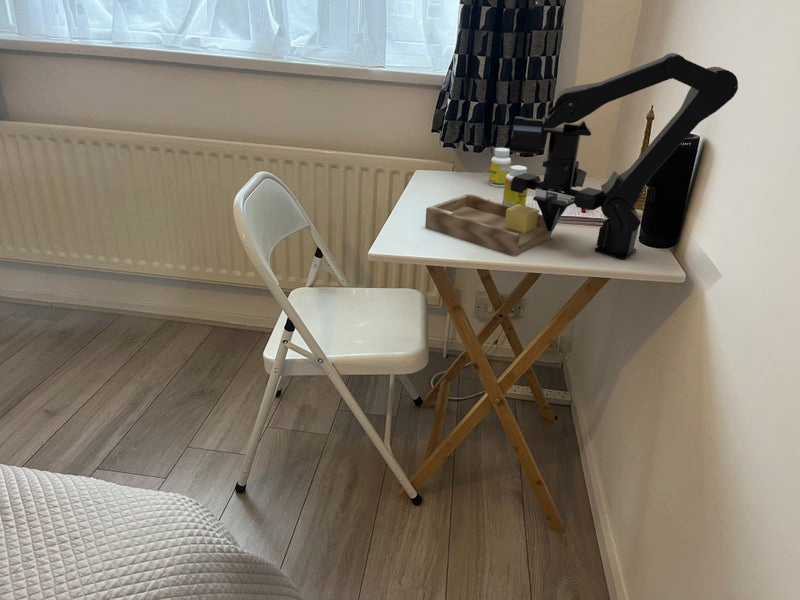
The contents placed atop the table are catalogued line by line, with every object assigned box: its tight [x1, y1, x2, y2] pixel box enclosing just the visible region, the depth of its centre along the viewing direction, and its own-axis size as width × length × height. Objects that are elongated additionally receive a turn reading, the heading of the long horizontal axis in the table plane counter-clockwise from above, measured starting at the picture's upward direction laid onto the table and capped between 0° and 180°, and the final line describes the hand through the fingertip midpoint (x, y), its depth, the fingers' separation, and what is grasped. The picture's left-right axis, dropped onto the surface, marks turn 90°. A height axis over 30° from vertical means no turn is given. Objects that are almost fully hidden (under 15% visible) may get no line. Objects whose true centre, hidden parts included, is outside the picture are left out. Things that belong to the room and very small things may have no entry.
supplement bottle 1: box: [488, 147, 512, 188], centre depth 165 cm, size 5×5×10 cm
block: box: [505, 204, 540, 233], centre depth 130 cm, size 5×5×4 cm
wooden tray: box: [424, 193, 553, 257], centre depth 132 cm, size 23×15×5 cm, turn 49°
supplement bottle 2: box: [502, 164, 529, 207], centre depth 146 cm, size 6×6×10 cm
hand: (550, 230), depth 127 cm, fingers closed
